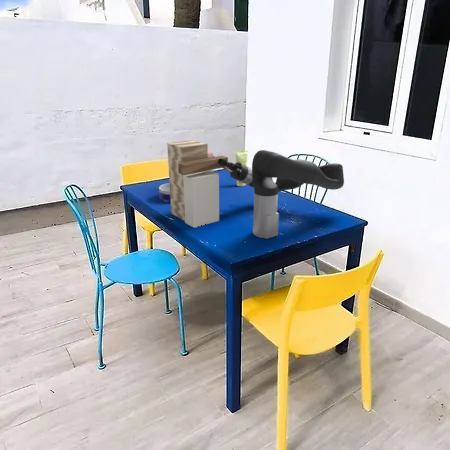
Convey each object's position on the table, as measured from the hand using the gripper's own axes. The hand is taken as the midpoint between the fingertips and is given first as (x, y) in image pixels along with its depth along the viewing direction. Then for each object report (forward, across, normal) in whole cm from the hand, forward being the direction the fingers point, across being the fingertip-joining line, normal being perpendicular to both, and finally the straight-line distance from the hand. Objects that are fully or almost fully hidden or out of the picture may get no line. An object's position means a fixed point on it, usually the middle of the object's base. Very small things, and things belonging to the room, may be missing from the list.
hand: (215, 159), depth 164 cm
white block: (-6, 0, -26) cm, 27 cm away
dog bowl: (-13, +36, -23) cm, 45 cm away
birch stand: (-7, +11, -26) cm, 29 cm away
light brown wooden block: (+4, 0, -6) cm, 7 cm away
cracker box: (-31, +40, -13) cm, 52 cm away
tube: (-49, +32, -3) cm, 58 cm away
